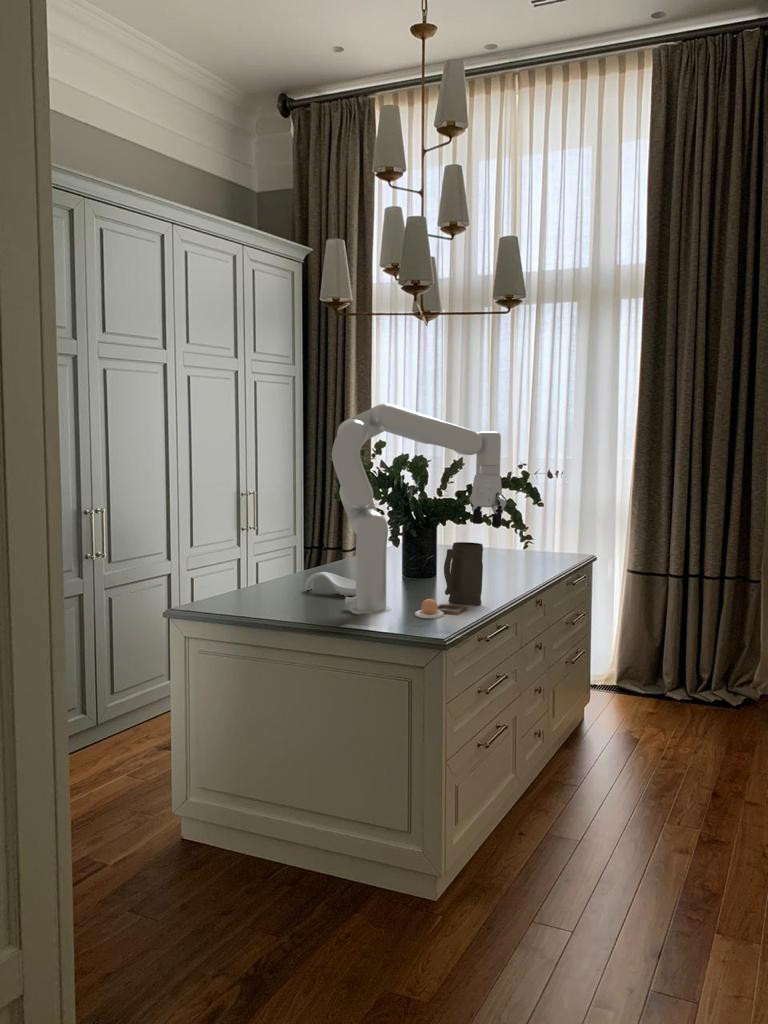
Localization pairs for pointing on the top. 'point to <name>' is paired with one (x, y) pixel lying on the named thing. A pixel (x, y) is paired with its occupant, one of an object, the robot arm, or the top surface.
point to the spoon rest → (334, 583)
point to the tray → (457, 612)
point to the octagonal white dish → (422, 615)
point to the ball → (429, 607)
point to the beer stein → (464, 573)
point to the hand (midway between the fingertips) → (486, 525)
